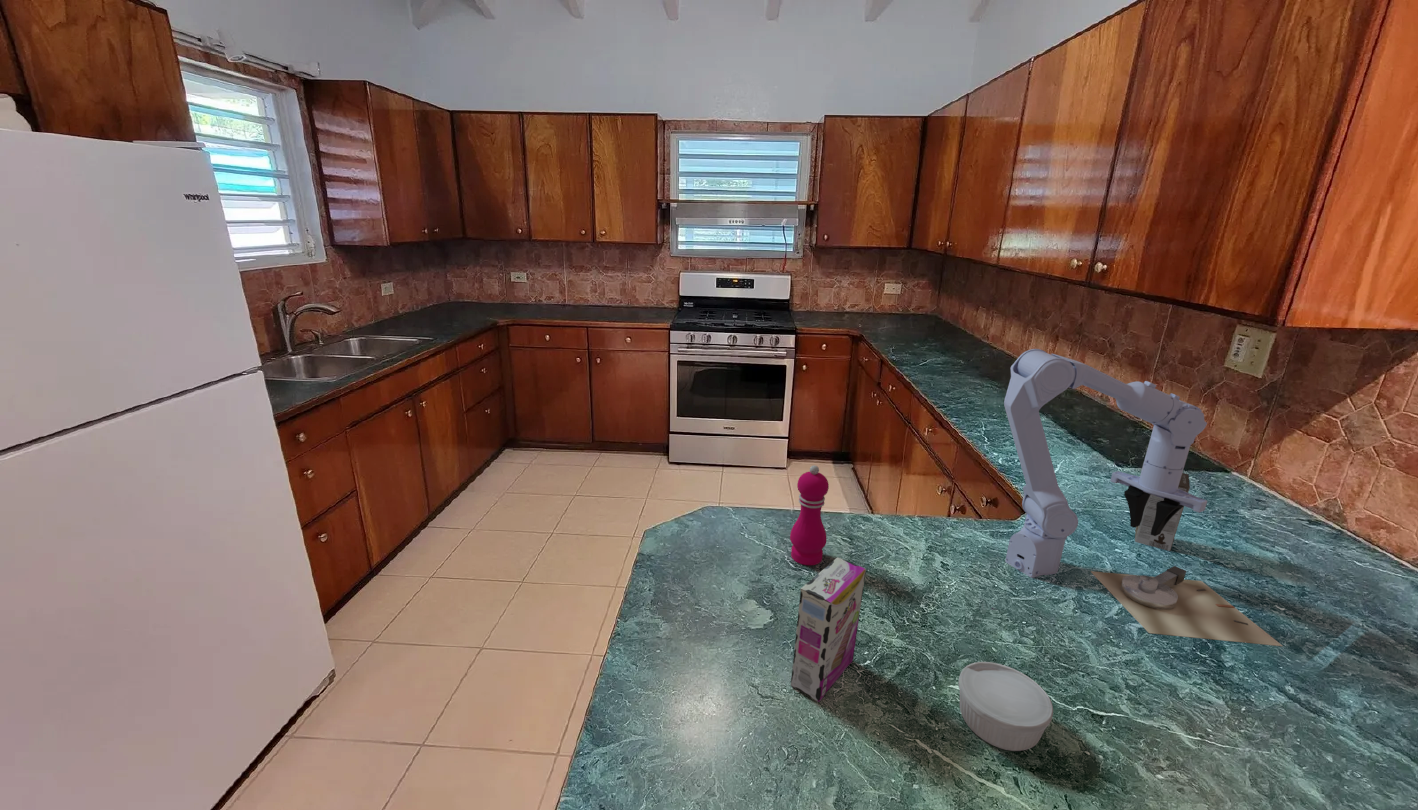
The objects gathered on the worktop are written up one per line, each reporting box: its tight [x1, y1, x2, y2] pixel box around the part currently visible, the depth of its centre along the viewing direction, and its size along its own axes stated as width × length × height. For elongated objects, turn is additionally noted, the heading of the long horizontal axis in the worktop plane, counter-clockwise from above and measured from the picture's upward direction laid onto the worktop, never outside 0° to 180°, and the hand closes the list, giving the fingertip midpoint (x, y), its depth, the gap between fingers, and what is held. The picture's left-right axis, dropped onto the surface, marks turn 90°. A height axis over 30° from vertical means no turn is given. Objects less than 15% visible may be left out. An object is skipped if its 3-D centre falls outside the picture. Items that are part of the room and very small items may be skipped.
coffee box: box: [1134, 472, 1191, 552], centre depth 120 cm, size 9×6×16 cm
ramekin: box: [958, 661, 1054, 752], centre depth 74 cm, size 11×11×5 cm
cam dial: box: [1121, 565, 1187, 610], centre depth 102 cm, size 15×8×4 cm, turn 118°
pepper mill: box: [789, 464, 829, 566], centre depth 110 cm, size 7×7×20 cm
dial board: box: [1090, 570, 1283, 647], centre depth 99 cm, size 20×18×1 cm
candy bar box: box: [790, 556, 867, 703], centre depth 80 cm, size 11×5×16 cm, turn 141°
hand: (1144, 530), depth 106 cm, fingers open, 3 cm apart
